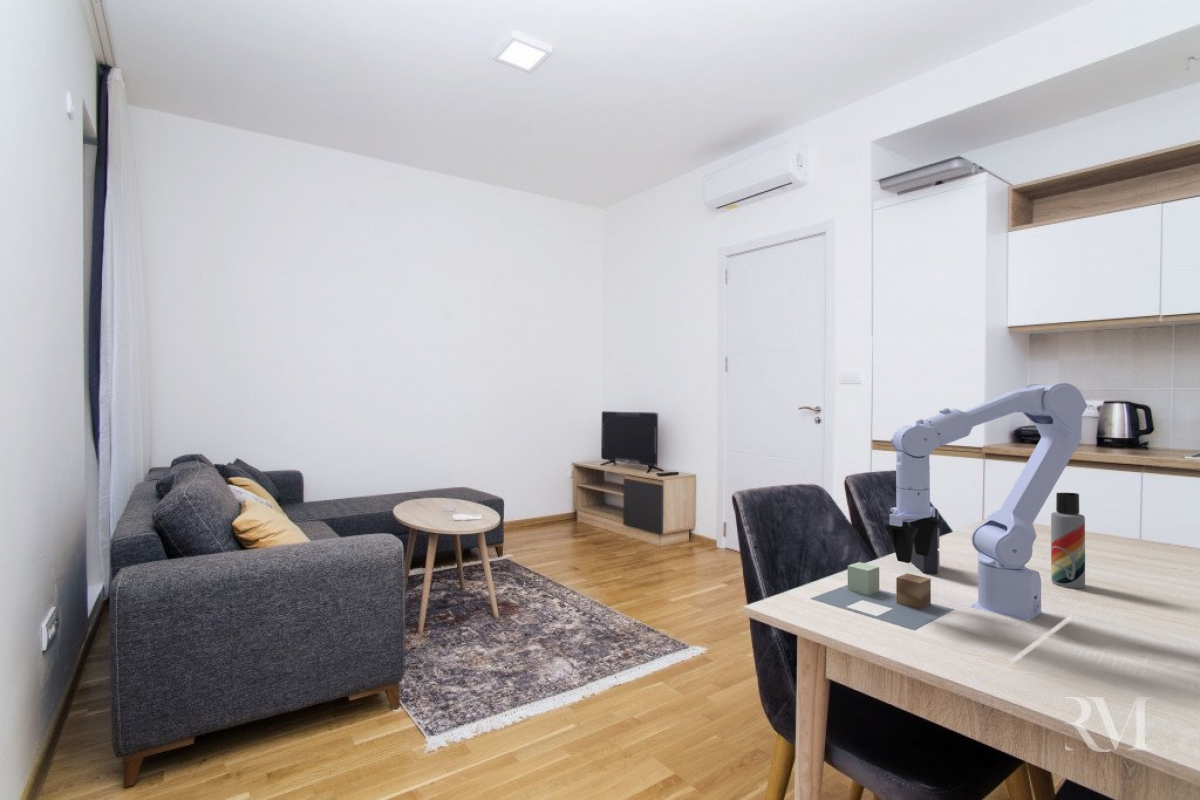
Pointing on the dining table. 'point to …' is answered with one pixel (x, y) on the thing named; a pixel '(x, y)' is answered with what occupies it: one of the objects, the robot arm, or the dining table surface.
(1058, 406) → the robot arm
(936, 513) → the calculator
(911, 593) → the walnut block
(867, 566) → the sage block
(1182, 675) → the dining table surface
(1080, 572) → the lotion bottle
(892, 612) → the grey mat
